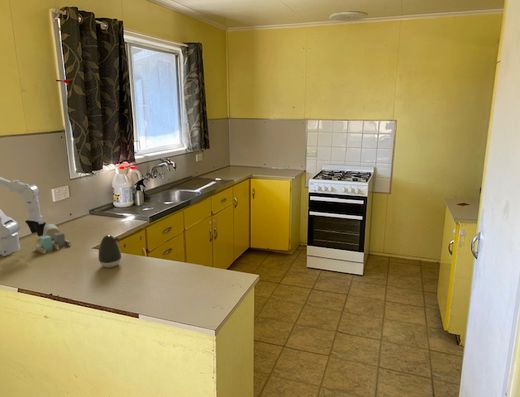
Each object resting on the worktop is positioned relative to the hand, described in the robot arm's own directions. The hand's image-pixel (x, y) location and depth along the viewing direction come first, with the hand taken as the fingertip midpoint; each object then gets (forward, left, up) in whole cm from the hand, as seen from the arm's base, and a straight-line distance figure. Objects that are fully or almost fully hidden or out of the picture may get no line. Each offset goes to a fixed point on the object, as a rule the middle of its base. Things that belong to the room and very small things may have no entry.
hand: (37, 234), depth 201 cm
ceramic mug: (+15, +16, -10) cm, 24 cm away
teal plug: (+3, -3, -9) cm, 9 cm away
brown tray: (+6, -3, -9) cm, 12 cm away
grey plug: (+9, -3, -9) cm, 13 cm away
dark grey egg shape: (+13, -46, -10) cm, 49 cm away
